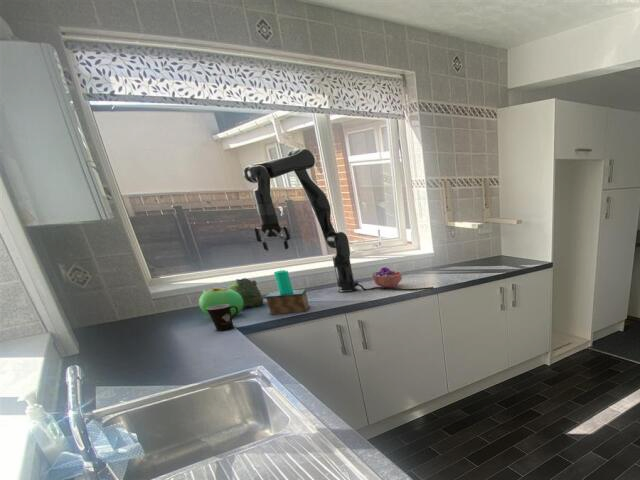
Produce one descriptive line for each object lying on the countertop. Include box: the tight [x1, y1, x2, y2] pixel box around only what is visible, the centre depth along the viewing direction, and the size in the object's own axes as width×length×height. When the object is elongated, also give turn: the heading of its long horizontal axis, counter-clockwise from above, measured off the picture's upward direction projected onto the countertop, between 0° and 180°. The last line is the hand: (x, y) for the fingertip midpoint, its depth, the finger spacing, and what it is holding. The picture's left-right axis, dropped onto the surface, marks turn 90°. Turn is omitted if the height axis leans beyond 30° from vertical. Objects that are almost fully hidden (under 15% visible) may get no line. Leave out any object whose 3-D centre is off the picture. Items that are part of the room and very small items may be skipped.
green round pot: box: [198, 283, 244, 317], centre depth 203 cm, size 18×17×15 cm
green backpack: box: [234, 277, 264, 310], centre depth 218 cm, size 11×19×15 cm, turn 115°
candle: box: [273, 269, 294, 294], centre depth 207 cm, size 6×6×12 cm
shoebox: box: [265, 288, 310, 315], centre depth 212 cm, size 17×11×9 cm, turn 104°
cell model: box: [371, 267, 403, 288], centre depth 254 cm, size 17×20×11 cm
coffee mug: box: [206, 304, 238, 332], centre depth 187 cm, size 12×9×10 cm
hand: (277, 249), depth 203 cm, fingers open, 8 cm apart
